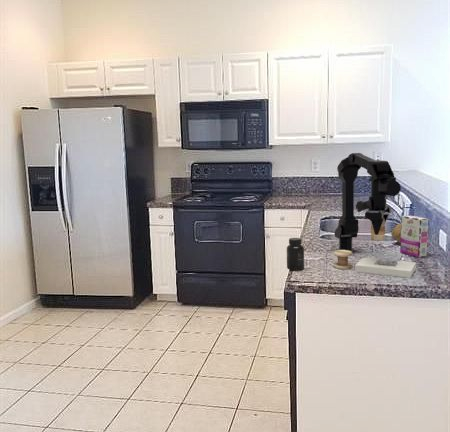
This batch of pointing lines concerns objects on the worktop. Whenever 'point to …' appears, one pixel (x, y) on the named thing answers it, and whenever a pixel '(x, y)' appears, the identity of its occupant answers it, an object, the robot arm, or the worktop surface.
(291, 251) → the supplement bottle
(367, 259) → the notched board
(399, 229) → the natural sponge
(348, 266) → the bobbin
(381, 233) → the copper spool
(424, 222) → the candy bar box
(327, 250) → the worktop surface
